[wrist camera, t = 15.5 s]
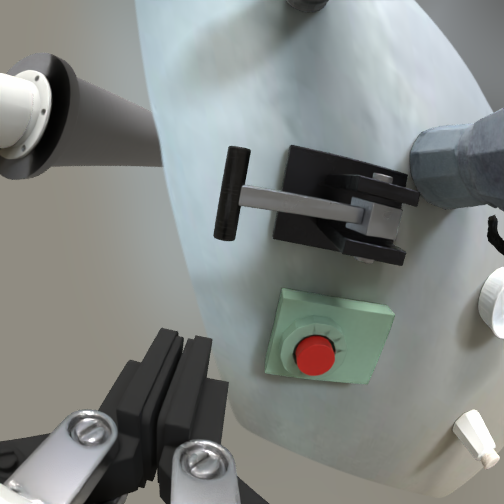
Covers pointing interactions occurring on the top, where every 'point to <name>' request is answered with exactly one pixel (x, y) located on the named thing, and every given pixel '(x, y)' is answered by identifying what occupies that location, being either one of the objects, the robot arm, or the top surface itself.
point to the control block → (328, 335)
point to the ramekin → (493, 302)
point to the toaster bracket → (341, 190)
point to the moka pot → (463, 167)
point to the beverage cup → (308, 5)
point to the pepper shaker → (476, 438)
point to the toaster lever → (295, 204)
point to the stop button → (315, 355)
